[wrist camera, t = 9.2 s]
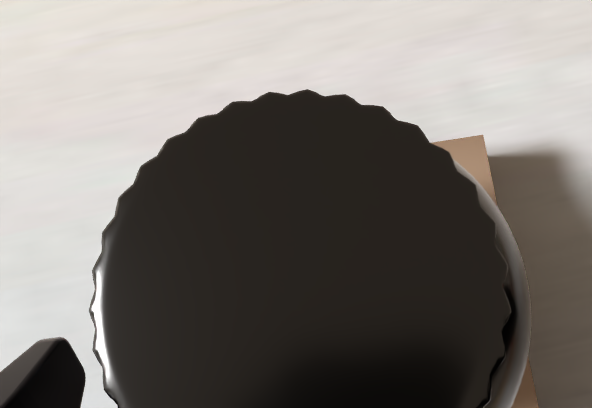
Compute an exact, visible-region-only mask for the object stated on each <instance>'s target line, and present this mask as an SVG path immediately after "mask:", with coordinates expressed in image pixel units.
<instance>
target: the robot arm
mask: <svg viewBox="0 0 592 408" xmlns="http://www.w3.org/2000/svg"><path fill="white" fill-rule="evenodd" d="M84 387H85V372H84V369H83V366H82V365H81V363H80V361H79V359H78V358H77V356H76V354H75V352H74V351H73V349H72V347H71V345H70V344H69V342H68V341H67V340H66V339H65V338H61V337H57V338H49V339H43V340H40V341H38V342H36V343H35V344H34V345H33V346H31V347H30V348H29V349H28V350H27V351H25V352H24V353H23V354H22V355H21V356H19V357H18V358H17V359H16V360H14V361H13V362H12V363H11V364H10V365H8V366H7V367H6V368H5V369H4V370H2V371H1V372H0V408H80V407H81V402H82V397H83V392H84Z"/></svg>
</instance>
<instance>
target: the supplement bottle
mask: <svg viewBox="0 0 592 408" xmlns="http://www.w3.org/2000/svg"><path fill="white" fill-rule="evenodd" d="M92 273H93V281H94V284H95V292H94V295H93V298H92V301H91V304H90V308H89V312H90V316H91V319H92V321H93V323H94V326H95V335H94V341H93V352H94V354H95V356H96V358H97V360H98V361H99V363H100V364H101V366H102V367H103V385H104V391H105V392H106V393H107V394H108V396H109V397H110V398H111V399H113V400H114V401H115V403H116V404H117V405H118V408H511V406H512V405H513V402H514V400H515V397H516V395H517V392H518V390H519V387H520V385H521V382H522V378H523V375H524V371H525V368H526V364H527V359H528V353H529V347H530V339H531V324H532V320H531V299H530V292H529V284H528V279H527V275H526V271H525V267H524V262H523V259H522V256H521V254H520V251H519V248H518V245H517V242H516V240H515V238H514V236H513V234H512V231H511V229H510V227H509V225H508V223H507V221H506V220H505V218H504V216H503V215H502V213H501V211H500V210H499V208H498V206H497V205H496V204H495V202H494V201H493V200H492V198H491V197H490V195H489V194H488V193H487V191H486V190H485V189H484V188H483V187H482V186H481V185H480V184H479V182H478V181H477V180H476V179H475V178H474V177H473V176H472V175H471V174H470V173H469V172H468V171H467V170H466V169H465V168H463V167H462V166H461V165H460V164H459V163H458V162H456V161H455V160H454V159H453V158H452V156H451V154H450V152H449V151H447V150H445V149H443V148H441V147H439V146H437V145H434V144H432V143H429V141H428V139H427V138H426V136H425V135H424V133H423V132H422V130H421V129H420V128H419V126H417V125H414V124H411V123H408V122H403V121H398V120H396V119H395V118H394V117H393V116H392V115H391V113H390V112H389V111H387V110H386V109H385V108H384V107H383V106H374V105H361V104H359V103H357V102H356V101H355V100H354V99H353V98H351V97H349V96H347V95H346V94H344V95H332V96H326V97H325V96H322V95H319V94H318V93H316V92H314V91H311V90H308V89H307V90H303V91H299V92H296V93H293V94H290V95H285V94H280V93H274V92H268V93H266V94H264V95H262V96H260V97H259V98H257V99H256V100H254V101H237V102H232V103H230V104H229V105H227V106H226V107H225V108H224V109H223V110H222V111H221V112H219V113H218V114H214V115H207V116H204V117H200V118H198V119H197V120H196V121H195V122H194V123H193V124H192V125H191V127H190V128H189V129H188V130H187V131H186V132H185V133H182V134H179V135H176V136H174V137H172V138H170V139H168V140H167V141H166V142H165V144H164V145H163V147H162V148H161V150H160V152H159V153H158V155H157V156H156V157H154V158H153V159H151V160H149V161H147V162H146V163H145V164H143V165H142V166H141V167H140V169H139V171H138V173H137V176H136V179H135V181H134V184H133V185H132V186H131V187H129V188H128V189H127V190H126V191H125V192H124V193H123V194H122V195H121V196H120V197H119V198H118V202H117V206H116V211H115V217H114V218H113V219H112V220H111V222H110V223H109V224H108V225H107V227H106V228H105V230H104V231H103V232H102V253H101V254H100V256H99V258H98V260H97V262H96V264H95V266H94V268H93V270H92Z"/></svg>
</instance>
